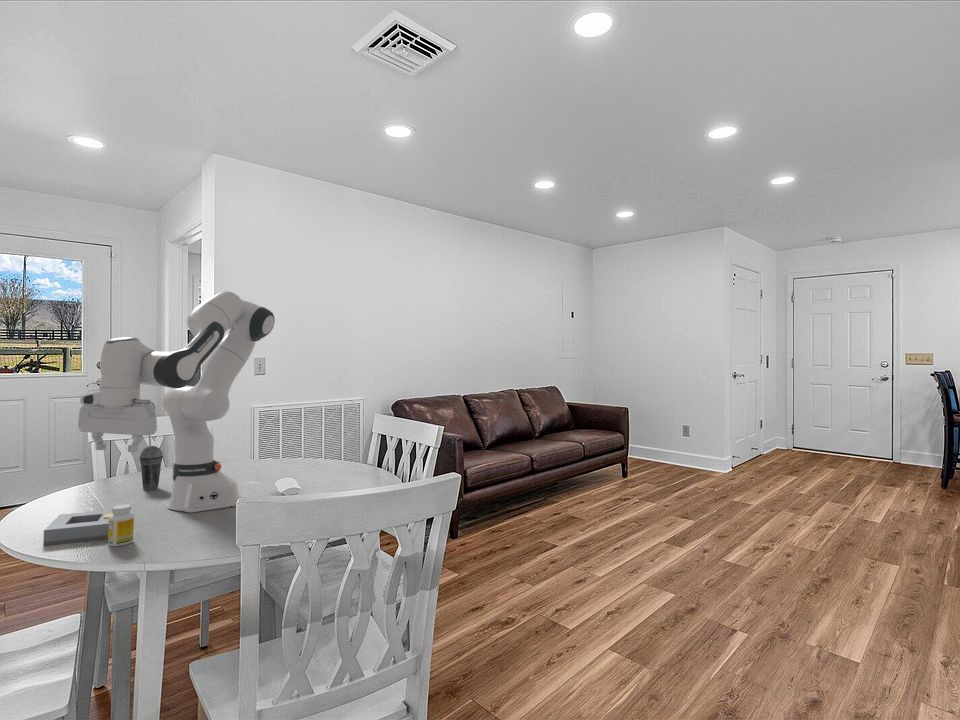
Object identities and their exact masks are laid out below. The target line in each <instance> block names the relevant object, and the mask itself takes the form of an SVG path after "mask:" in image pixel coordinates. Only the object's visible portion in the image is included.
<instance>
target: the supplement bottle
mask: <svg viewBox="0 0 960 720" xmlns="http://www.w3.org/2000/svg"><path fill="white" fill-rule="evenodd" d="M111 510H112V513H113V515H111V516H110V517H109V525H108V539H107V545H108V546H109V547H122V546H127V545H129V544H131V543H132V542H133V541H134V525H135V520H134V519H135V515H134V513H132V512H131V511H132V505H131V504H126V503H125V504H124V503H123V504H118V505H114V506H113V507H112V509H111Z"/></svg>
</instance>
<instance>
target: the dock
mask: <svg viewBox="0 0 960 720" xmlns="http://www.w3.org/2000/svg"><path fill="white" fill-rule="evenodd" d="M111 515H113V513H112V509H106V510H104V509H103V510H97V511H96V510H94V511H93V510H92V511H84V512H83V511H81V512H75V513H74V512H73V513H63V514H59V515H58V516H56V518H55V519H54V520H53V521H51V523H49V525H47V527H45V528H44V529H43V546H44V547H45V546H46V547H47V546H55V545H63V544H65V545H66V544H73V543H82V542H91V541H98V540H99V541H100V540H108V525H109V517H110V516H111Z"/></svg>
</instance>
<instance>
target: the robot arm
mask: <svg viewBox="0 0 960 720" xmlns="http://www.w3.org/2000/svg"><path fill="white" fill-rule="evenodd" d="M275 319H276V318H275V316H274V313H273V311H271V310H269V309H268V308H266V307H265V306H264V307H263V306H261V305H258V304H256V303H253V302H250V301H248V300H247V301H246V300H243V299H242V298H241V297H240V296H239V295H238V294H236V293H234V292H232V291H229V290H225V291H220V292H218V293H217V294H214V295H212V296H210V297H208V298H207V299H205V300H204V301H203V302H201V303H200V304H199V305H197V306H196V307H195V308H194V309H192V310H191V311H190V313H189V315H188V316H187V321H186V322H187V323H186V325H187V328H188V330H189V332H190V333H191V335H192V336H193V339H191V341H190V342H189V343H188V344H186V346H185V347H184V348H182V349H179V350H173V351H157V350H155V349H152V348H150V347H148V346H146V345H145V344H144V343H142V342H141V340H140V339H139V338H137V337H134V336H133V337H132V336H131V337H130V336H126V337H114V338H111V339H108V340H106V341H105V342H104V343H103V347H102V350H101V355H100V365H99V371H100V375H101V380H100V382H99V387H98V391H94V392H91V393H88V394H85V395H82V396H80V397H79V398H80V399H79V400H80V404H81V407H80V409H79V412H78V419H77V421H78V423H77V425H78V429H79V431H80V432H82V433H91V438H92V440H93V442H94V443H95V446H94V447H95V448H94V449H95V450H97V451H105V450H106V449H107V442H104V440H103V438H102V437H103V436H104V434H108V435H109V434H113V435H126V436H127V435H128V436H129V435H131V439H132V442H131V444H130V445H129V444H128V445H127V452H129V453H137V452H138V451H139V445H140V443H141V442H142V440H143V439H144V436H149V435H150V436H152V435H155V433H156V432H157V429H158V424H157V423H158V422H157V413H156V404H154V401H153V402H152V400H150V399H141V398H140V396H141V385H144V386H154V387H165V388H171V389H169V390H167V392H166V393H165V394H164V395H163V398H162V407H163V409H164V411H165V412H166V413H167V414H168V416H169V420H170V423H171V428H172V431H173V436H174V444H175V445H174V452H175V453H174V463H173V466H172V480H173V484H172V492H171V496H170V500H169V503H168V505H167V508H168V509H169V510H172V511H179V512H184V513H185V512H186V513H197V512H203V511H210V510H217V509H223V508H230V507H231V506H232V507H236V502H237V500H238V499H239V498H245V499H246V496H245V494H243V493H241V492H239V488H238V485H237V483H236V481H235V480H234V479H233V478H231V477H230V476H229V475H227V474H225V473H223V472H221V469H222V464H221V463H220V461H218V460H215V459H214V450H215V449H214V447H215V446H214V445H215V442H214V441H215V438H214V435H213V433H212V432H211V431H210V429H209V427H208V424H207V422H210V421H217V420H219V419H222V418H223V417H225V416H226V414H227V413H228V412H229V409H230V405H231V404H230V399H229V398H230V397H229V392H230V390H231V387H232V385H233V383H234V381H235V380H236V379H237V376H238V375H239V373H240V372H241V371H242V369H243V368H244V366H245V365H246V363H247V361H248V360H249V359H250V356H251V354H252V353H253V350H254V348H255V345H256V342H259V341H261V339H264V338H265V337H267V336H268V335H269V334H271V332H272V331H273V329H274V325H275V321H276V320H275ZM228 330H229V331H228ZM227 331H228V333H227V334H226V335H225V333H226V332H227ZM200 368H201V376H200V378H199V381H198V382H197V383H196V384H195V385H189V384H190V383H192V381H193V380H194V379H195V377H196V375H197V373H198V371H199V369H200Z"/></svg>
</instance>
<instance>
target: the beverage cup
mask: <svg viewBox="0 0 960 720" xmlns="http://www.w3.org/2000/svg"><path fill="white" fill-rule="evenodd" d="M151 440H152V439H151V435H148V445H149V446H147V447H145V448H143V449H142V450H141V452H140V455H139V463H140V468H141V469H140V470H141V481H142V482H141V483H142V490H143V491H154V489H155V490H158V489H159V484H160V476H161V475H160V474H161V467H162V462H163V457H164V455H163V451H162V450H161V448H160V447H158V446H155V445H152V442H151ZM157 488H158V489H157Z"/></svg>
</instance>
